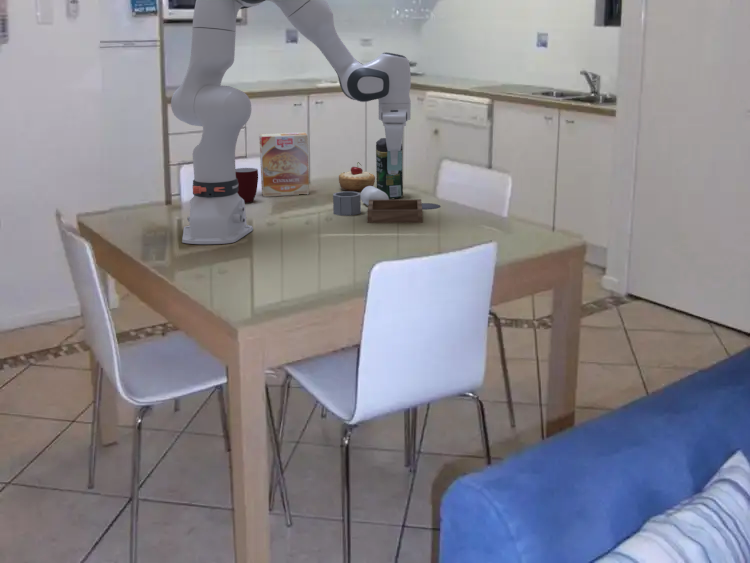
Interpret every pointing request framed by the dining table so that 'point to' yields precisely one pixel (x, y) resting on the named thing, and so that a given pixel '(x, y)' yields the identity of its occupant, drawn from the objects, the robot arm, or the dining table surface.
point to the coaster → (429, 206)
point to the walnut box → (395, 211)
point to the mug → (247, 183)
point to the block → (399, 162)
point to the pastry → (356, 179)
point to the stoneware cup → (347, 203)
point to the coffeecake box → (284, 164)
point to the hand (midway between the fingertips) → (394, 163)
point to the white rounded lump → (372, 194)
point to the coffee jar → (387, 173)
